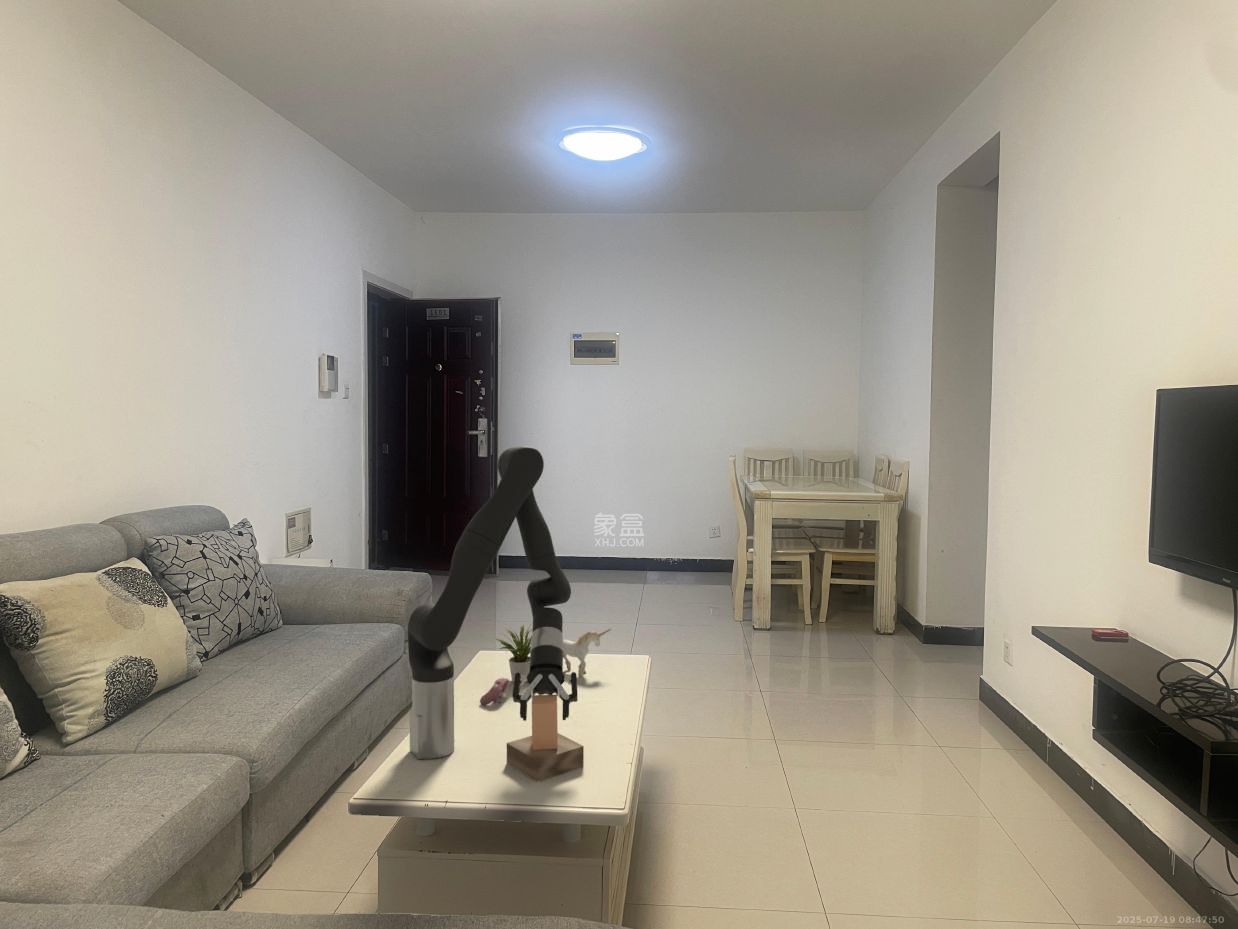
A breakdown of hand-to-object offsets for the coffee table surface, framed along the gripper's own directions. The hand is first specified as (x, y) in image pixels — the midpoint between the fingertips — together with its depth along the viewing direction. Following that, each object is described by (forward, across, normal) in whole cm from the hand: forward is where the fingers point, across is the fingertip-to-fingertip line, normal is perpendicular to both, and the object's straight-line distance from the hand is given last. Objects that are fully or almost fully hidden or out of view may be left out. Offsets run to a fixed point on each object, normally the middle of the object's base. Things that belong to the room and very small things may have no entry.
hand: (544, 719), depth 171 cm
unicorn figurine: (-40, +8, +56) cm, 69 cm away
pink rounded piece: (-23, -15, +38) cm, 47 cm away
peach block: (+3, 0, +5) cm, 6 cm away
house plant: (-35, -9, +51) cm, 62 cm away
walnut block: (+7, 0, +9) cm, 11 cm away
